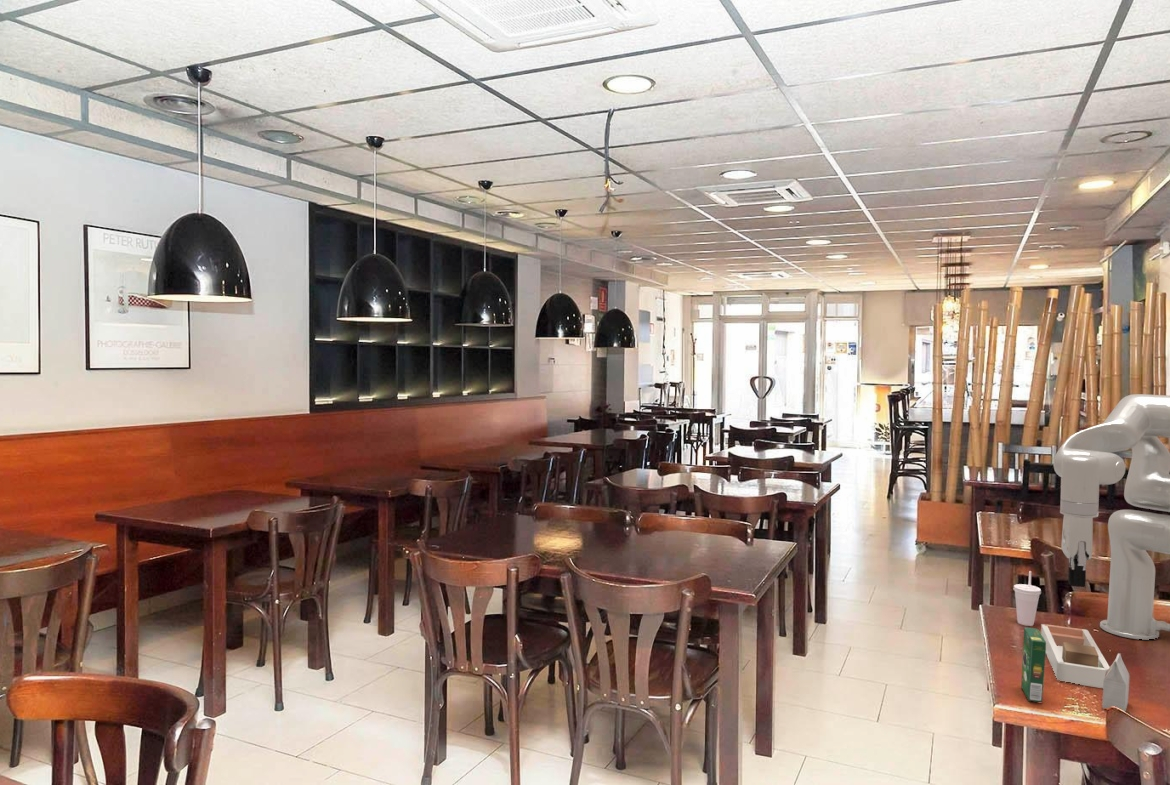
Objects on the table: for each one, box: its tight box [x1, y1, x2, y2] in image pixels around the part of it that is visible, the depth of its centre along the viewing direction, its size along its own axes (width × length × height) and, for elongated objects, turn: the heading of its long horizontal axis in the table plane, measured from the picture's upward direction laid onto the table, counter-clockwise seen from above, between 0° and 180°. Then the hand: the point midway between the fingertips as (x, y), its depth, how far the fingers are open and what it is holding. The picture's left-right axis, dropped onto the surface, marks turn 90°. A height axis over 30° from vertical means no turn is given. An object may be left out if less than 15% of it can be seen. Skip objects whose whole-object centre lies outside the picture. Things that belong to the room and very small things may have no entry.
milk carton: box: [1101, 653, 1130, 712], centre depth 159 cm, size 4×7×10 cm, turn 140°
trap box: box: [1040, 623, 1110, 689], centre depth 182 cm, size 10×28×4 cm, turn 157°
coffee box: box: [1020, 626, 1046, 703], centre depth 163 cm, size 8×3×13 cm, turn 160°
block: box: [1062, 642, 1099, 667], centre depth 173 cm, size 6×6×4 cm
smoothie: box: [1013, 570, 1042, 627], centre depth 208 cm, size 6×6×14 cm
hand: (1076, 585), depth 184 cm, fingers closed
